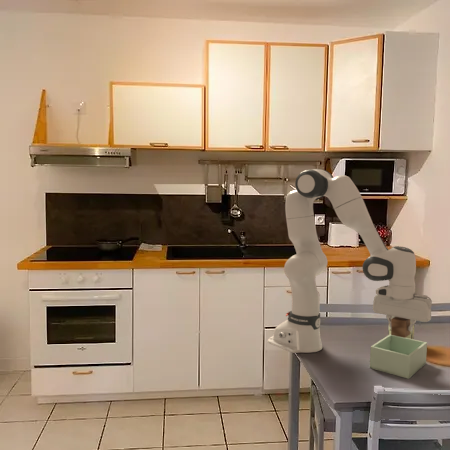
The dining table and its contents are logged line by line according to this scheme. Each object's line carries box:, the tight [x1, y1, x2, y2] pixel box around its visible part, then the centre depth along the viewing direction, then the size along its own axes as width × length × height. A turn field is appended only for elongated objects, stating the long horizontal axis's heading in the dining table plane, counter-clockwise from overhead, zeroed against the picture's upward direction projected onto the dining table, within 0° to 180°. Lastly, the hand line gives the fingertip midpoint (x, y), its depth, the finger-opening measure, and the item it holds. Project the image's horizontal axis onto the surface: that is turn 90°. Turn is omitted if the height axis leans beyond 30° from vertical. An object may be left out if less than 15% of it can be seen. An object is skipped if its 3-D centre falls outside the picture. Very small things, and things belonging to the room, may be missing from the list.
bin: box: [369, 334, 428, 380], centre depth 174 cm, size 14×18×8 cm
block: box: [391, 317, 410, 338], centre depth 173 cm, size 5×5×6 cm
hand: (400, 329), depth 173 cm, fingers closed on block, 5 cm apart
